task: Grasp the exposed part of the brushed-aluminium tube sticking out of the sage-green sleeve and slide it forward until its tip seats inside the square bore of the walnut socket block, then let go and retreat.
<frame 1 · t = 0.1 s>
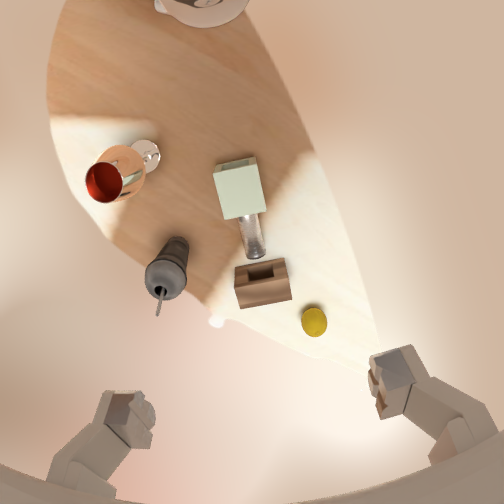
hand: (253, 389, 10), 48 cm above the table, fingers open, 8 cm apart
socket: (261, 272, 64), on the table
beverage cup: (178, 246, 61), on the table
lemon: (310, 310, 69), on the table
sleeve: (240, 181, 55), on the table
wineglass: (144, 156, 52), on the table
tube: (246, 214, 54), point 4 cm above the table, slide at 0.0 cm
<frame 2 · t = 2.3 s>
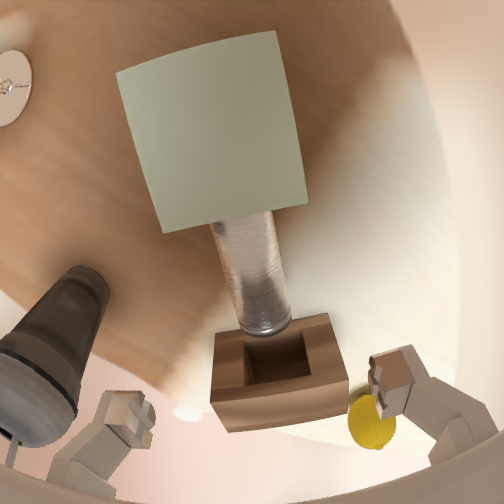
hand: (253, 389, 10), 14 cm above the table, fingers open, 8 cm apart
socket: (275, 343, 28), on the table
beverage cup: (87, 286, 24), on the table
lemon: (363, 393, 33), on the table
sleeve: (222, 121, 18), on the table
wineglass: (7, 87, 15), on the table
tube: (239, 213, 17), point 4 cm above the table, slide at 0.0 cm
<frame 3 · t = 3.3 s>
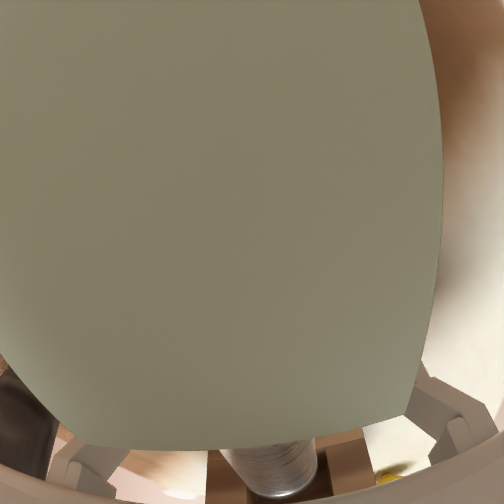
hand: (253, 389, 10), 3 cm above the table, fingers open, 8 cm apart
socket: (287, 451, 18), on the table
beverage cup: (37, 382, 15), on the table
lemon: (385, 472, 24), on the table
sleeve: (204, 159, 9), on the table
tube: (238, 367, 8), point 4 cm above the table, slide at 0.0 cm
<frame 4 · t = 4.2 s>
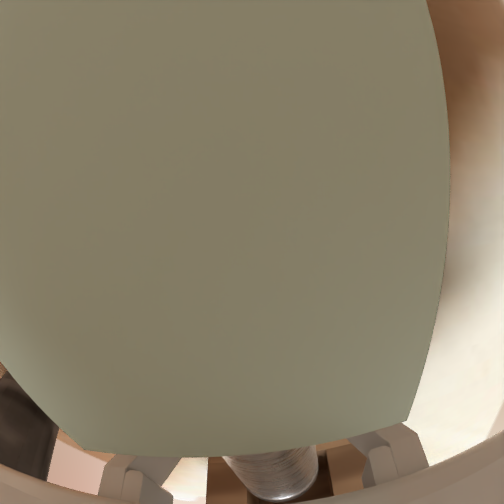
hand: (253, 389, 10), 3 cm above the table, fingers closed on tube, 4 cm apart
socket: (288, 453, 18), on the table
beverage cup: (37, 384, 15), on the table
sleeve: (204, 162, 9), on the table
tube: (239, 372, 8), point 4 cm above the table, slide at 0.0 cm, touching gripper
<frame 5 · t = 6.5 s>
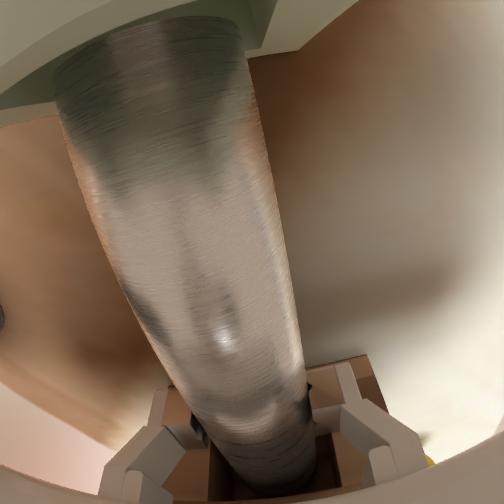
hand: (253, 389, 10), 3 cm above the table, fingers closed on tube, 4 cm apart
socket: (273, 403, 15), on the table
tube: (239, 368, 8), point 4 cm above the table, slide at 6.9 cm, touching gripper
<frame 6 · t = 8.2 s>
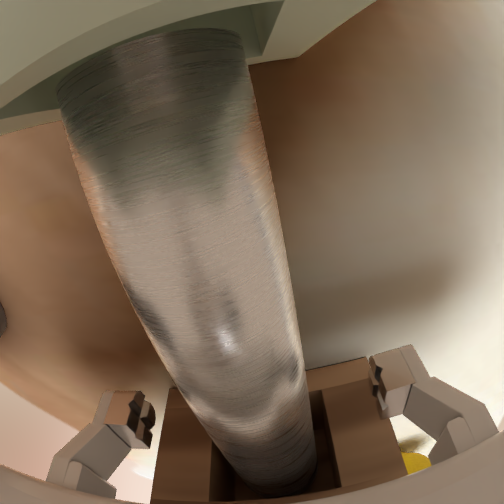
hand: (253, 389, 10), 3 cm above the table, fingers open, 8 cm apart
socket: (273, 404, 15), on the table
lemon: (396, 449, 20), on the table
tube: (241, 371, 8), point 4 cm above the table, slide at 6.9 cm
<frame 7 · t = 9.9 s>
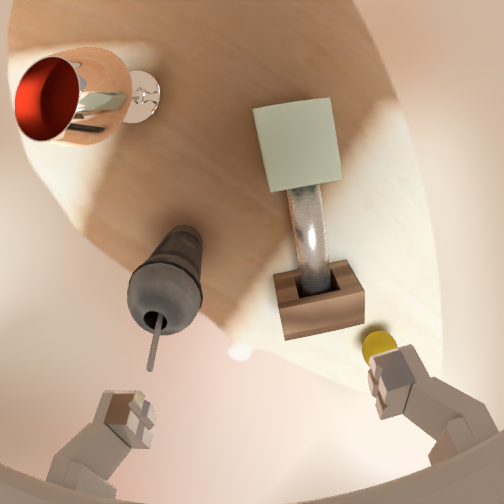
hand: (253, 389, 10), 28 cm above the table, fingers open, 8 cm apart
socket: (312, 282, 42), on the table
beverage cup: (184, 241, 39), on the table
lemon: (371, 333, 47), on the table
sleeve: (289, 137, 33), on the table
wineglass: (135, 96, 30), on the table
tube: (311, 245, 35), point 4 cm above the table, slide at 6.9 cm
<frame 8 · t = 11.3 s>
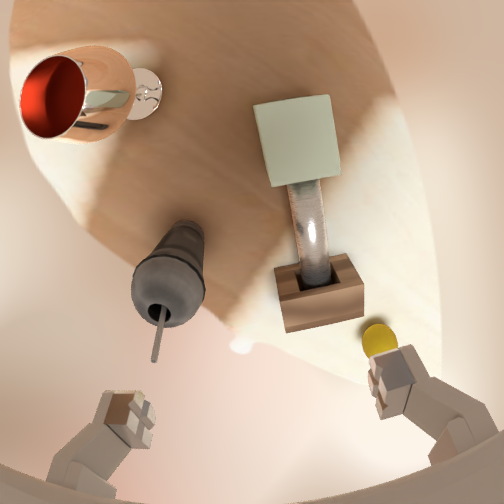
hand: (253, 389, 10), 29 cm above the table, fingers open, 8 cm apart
socket: (312, 276, 42), on the table
beverage cup: (186, 236, 39), on the table
lemon: (371, 326, 47), on the table
sleeve: (289, 133, 33), on the table
wineglass: (137, 93, 30), on the table
tube: (311, 239, 35), point 4 cm above the table, slide at 6.9 cm
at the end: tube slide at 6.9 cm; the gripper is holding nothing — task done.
